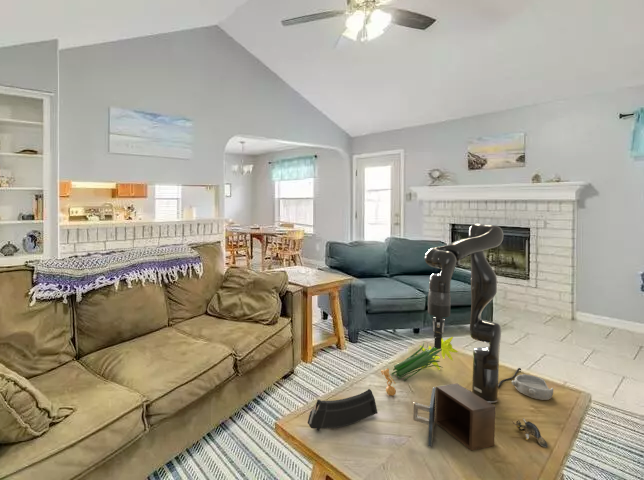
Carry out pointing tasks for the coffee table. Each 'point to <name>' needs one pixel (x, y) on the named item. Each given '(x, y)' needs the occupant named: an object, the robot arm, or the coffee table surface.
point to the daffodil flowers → (423, 359)
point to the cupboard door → (431, 415)
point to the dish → (532, 387)
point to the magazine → (342, 411)
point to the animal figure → (531, 431)
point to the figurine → (389, 389)
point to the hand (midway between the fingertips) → (437, 344)
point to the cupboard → (465, 416)
